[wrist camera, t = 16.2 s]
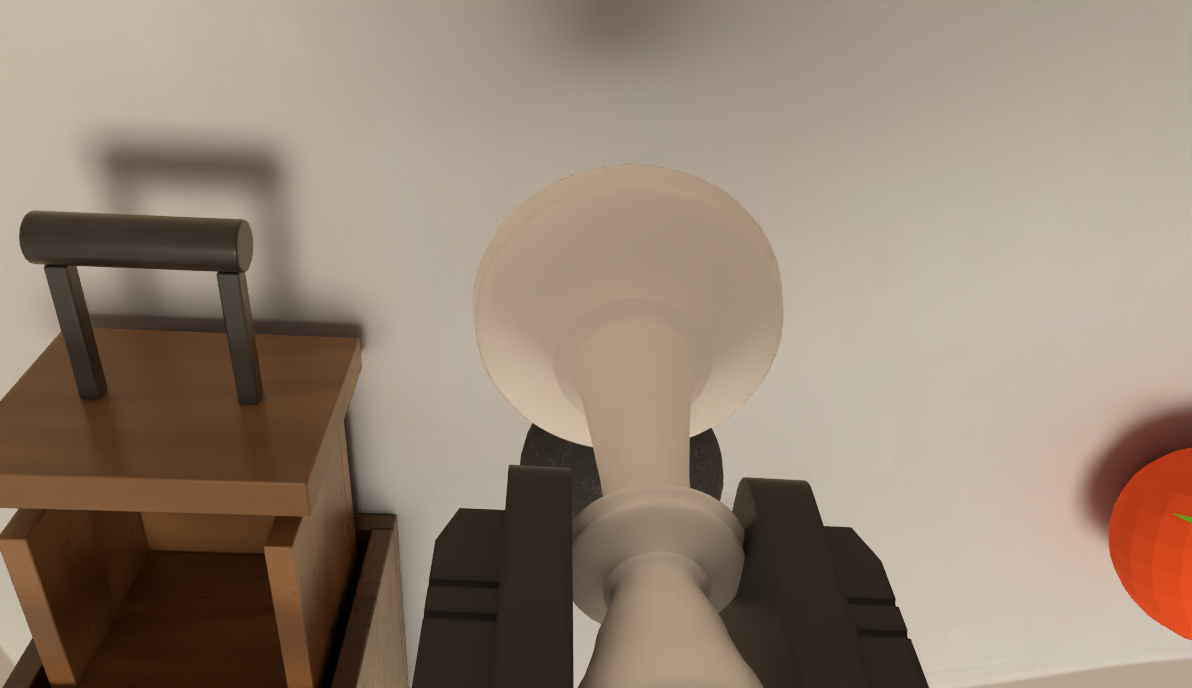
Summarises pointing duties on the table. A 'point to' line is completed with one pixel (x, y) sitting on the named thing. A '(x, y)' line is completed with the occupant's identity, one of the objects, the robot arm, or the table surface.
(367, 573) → the cabinet
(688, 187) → the chess piece
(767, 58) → the table surface
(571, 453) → the light bulb
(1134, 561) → the clementine
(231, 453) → the drawer
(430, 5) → the table surface
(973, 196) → the table surface
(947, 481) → the table surface
